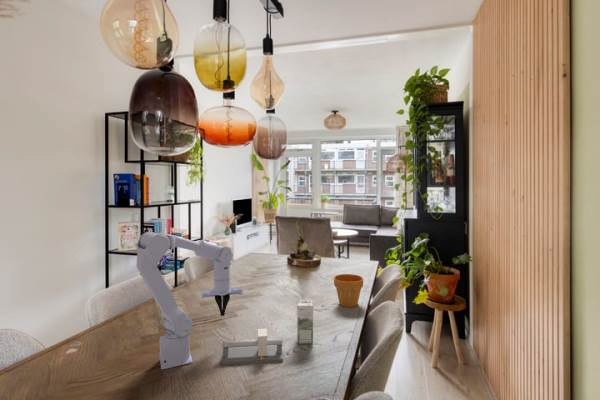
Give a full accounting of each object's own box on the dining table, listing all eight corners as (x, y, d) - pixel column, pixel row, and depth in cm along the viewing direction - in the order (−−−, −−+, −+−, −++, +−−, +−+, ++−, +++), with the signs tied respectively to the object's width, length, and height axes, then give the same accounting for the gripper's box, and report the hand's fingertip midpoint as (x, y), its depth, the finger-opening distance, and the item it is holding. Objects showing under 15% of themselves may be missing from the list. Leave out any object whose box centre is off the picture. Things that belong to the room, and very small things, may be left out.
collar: (258, 356, 109) (257, 336, 109) (258, 347, 115) (258, 328, 115) (267, 355, 109) (266, 336, 109) (267, 347, 115) (267, 328, 115)
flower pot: (363, 310, 153) (363, 282, 153) (332, 308, 156) (332, 281, 156) (363, 300, 167) (363, 274, 167) (335, 298, 170) (335, 273, 170)
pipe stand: (221, 365, 106) (220, 348, 106) (224, 351, 115) (224, 335, 115) (283, 361, 108) (282, 344, 108) (281, 348, 117) (281, 332, 117)
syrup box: (312, 337, 126) (311, 299, 126) (313, 344, 120) (313, 305, 120) (297, 337, 126) (297, 299, 125) (297, 344, 120) (297, 305, 119)
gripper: (201, 283, 115) (201, 321, 115) (243, 279, 119) (243, 316, 119) (201, 277, 122) (202, 314, 122) (241, 274, 126) (241, 309, 126)
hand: (222, 315), depth 121 cm, fingers closed
